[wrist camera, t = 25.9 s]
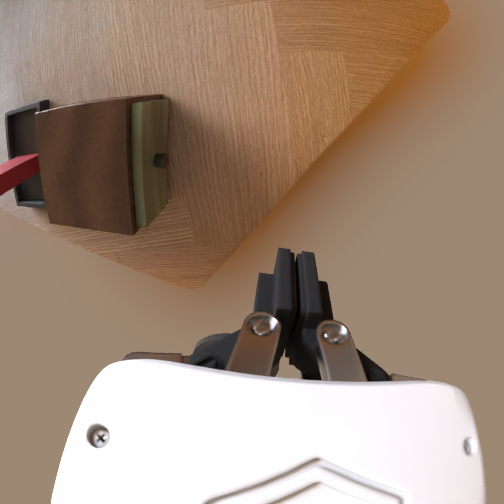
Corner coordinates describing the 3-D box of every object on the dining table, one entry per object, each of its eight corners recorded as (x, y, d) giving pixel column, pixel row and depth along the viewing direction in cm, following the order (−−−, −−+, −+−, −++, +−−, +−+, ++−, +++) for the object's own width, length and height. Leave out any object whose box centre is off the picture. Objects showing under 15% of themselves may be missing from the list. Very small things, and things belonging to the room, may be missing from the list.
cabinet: (163, 94, 27) (126, 98, 20) (162, 203, 35) (133, 235, 28) (77, 102, 27) (34, 113, 20) (84, 197, 35) (49, 223, 28)
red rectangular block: (43, 152, 31) (-7, 178, 22) (45, 168, 32) (-3, 197, 23) (20, 154, 31) (-26, 179, 22) (22, 169, 32) (-22, 196, 23)
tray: (58, 203, 36) (51, 209, 34) (24, 200, 36) (17, 205, 35) (48, 99, 27) (39, 101, 25) (13, 110, 27) (4, 112, 25)
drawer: (179, 98, 26) (153, 102, 21) (176, 204, 34) (156, 229, 28) (85, 105, 27) (51, 113, 21) (91, 196, 34) (64, 217, 28)
